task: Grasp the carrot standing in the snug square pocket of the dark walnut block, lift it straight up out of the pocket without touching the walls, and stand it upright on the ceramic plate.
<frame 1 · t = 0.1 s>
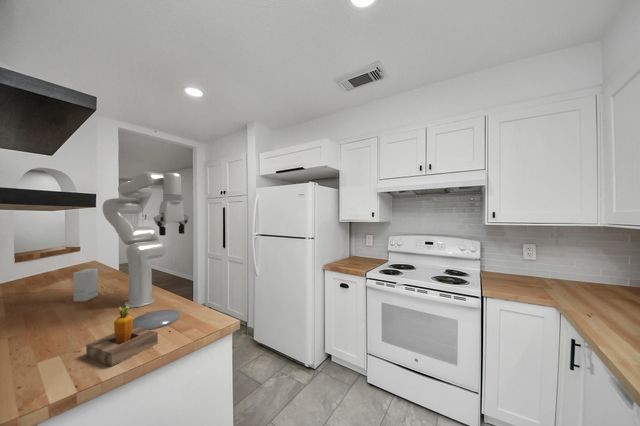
hand: (172, 234, 115), 37 cm above the counter, tool pointing down, fingers open, 9 cm apart
pocket block: (123, 349, 82), on the counter
carrot: (123, 350, 82), resting in pocket block
skincare box: (86, 299, 130), on the counter
plate: (155, 320, 104), on the counter
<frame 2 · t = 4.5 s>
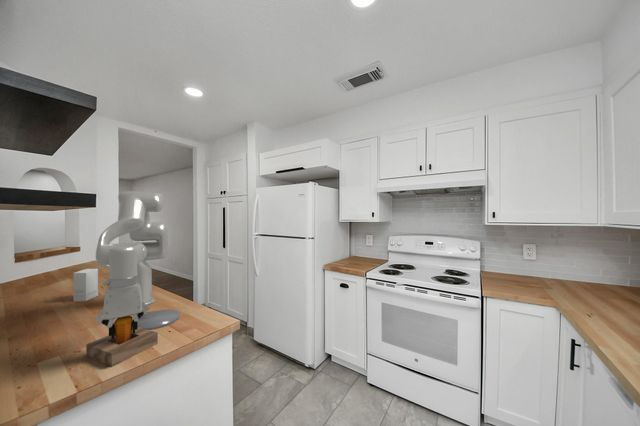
hand: (123, 334, 82), 5 cm above the counter, tool pointing down, fingers closed on carrot, 4 cm apart
carrot: (123, 350, 82), resting in pocket block, touching gripper
everything else where it was.
when the fingers open (7 cm above the counter, at t = 14.7 s): carrot stays where it is, resting on plate.
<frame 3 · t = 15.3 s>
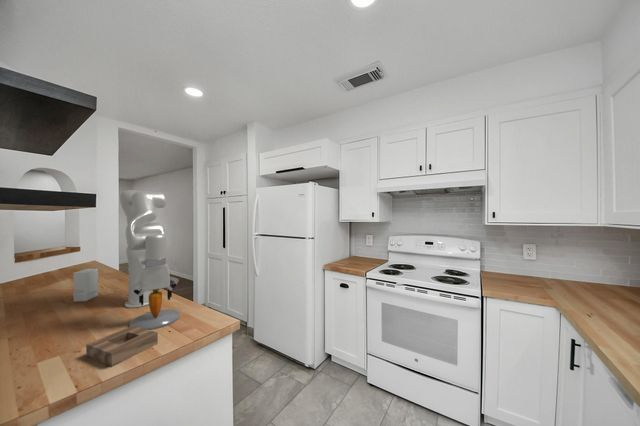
hand: (155, 301, 104), 8 cm above the counter, tool pointing down, fingers open, 9 cm apart
carrot: (155, 318, 105), point 1 cm above the counter, touching plate
everything else where it was.
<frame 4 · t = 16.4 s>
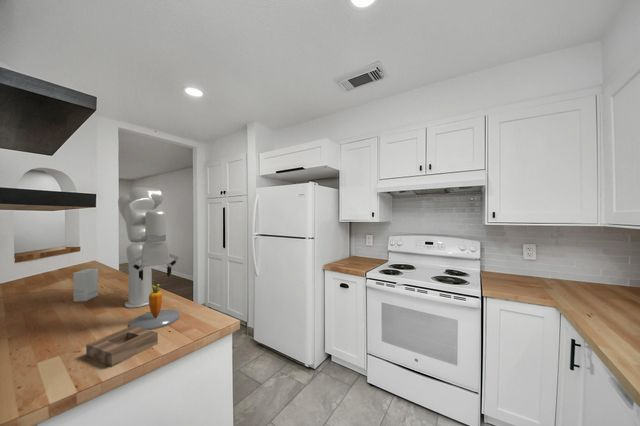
hand: (155, 277, 105), 19 cm above the counter, tool pointing down, fingers open, 9 cm apart
nothing on the counter moved.
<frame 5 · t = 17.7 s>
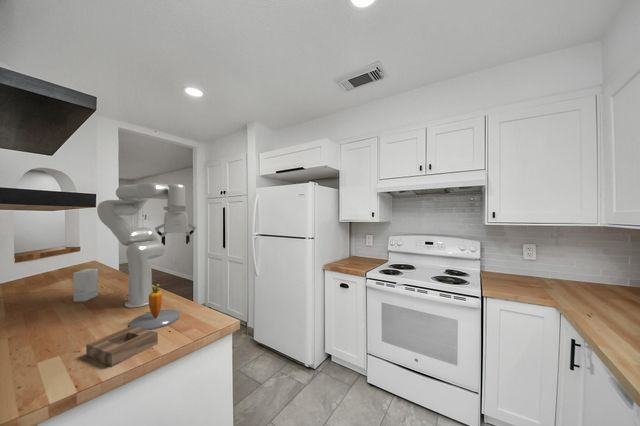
hand: (175, 244, 117), 32 cm above the counter, tool pointing down, fingers open, 9 cm apart
nothing on the counter moved.
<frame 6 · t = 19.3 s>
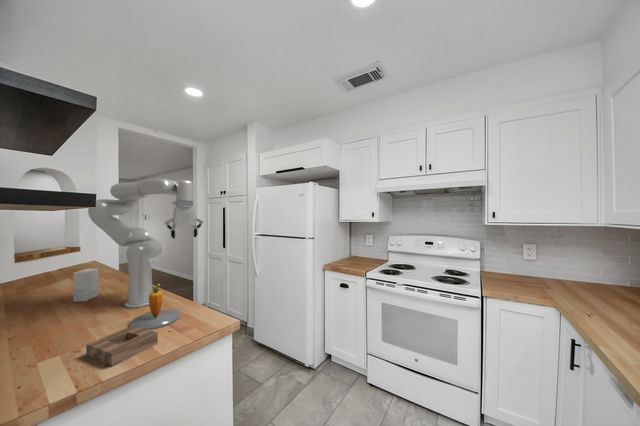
hand: (184, 237, 123), 34 cm above the counter, tool pointing down, fingers open, 9 cm apart
nothing on the counter moved.
at the end: carrot inside the target area on the plate (0.2 cm from its centre), point 0.8 cm above the plate's base; carrot tilted 1°; the gripper is holding nothing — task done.
